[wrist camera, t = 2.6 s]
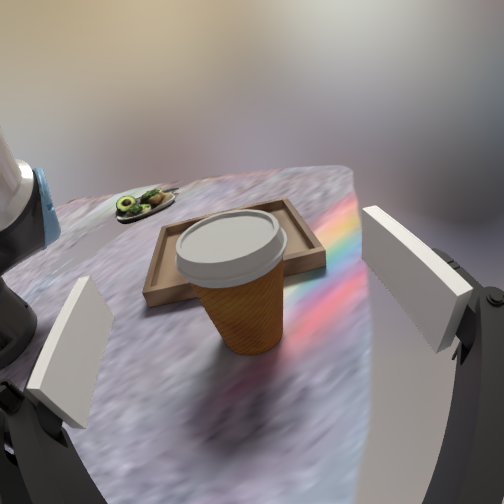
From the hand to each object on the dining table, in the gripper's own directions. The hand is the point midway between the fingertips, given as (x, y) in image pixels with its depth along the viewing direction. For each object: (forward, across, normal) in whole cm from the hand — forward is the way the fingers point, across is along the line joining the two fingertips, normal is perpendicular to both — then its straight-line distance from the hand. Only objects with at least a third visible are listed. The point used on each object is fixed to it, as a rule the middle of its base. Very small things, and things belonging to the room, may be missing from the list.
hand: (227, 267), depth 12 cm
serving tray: (+28, -1, -15) cm, 32 cm away
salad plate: (+61, -23, -15) cm, 67 cm away
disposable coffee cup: (+10, 0, -15) cm, 18 cm away
